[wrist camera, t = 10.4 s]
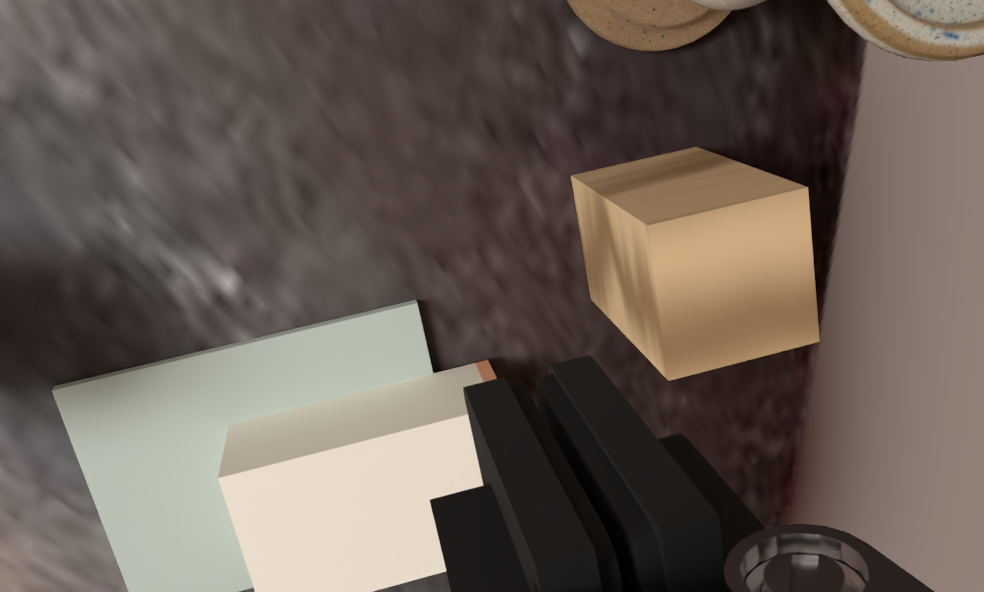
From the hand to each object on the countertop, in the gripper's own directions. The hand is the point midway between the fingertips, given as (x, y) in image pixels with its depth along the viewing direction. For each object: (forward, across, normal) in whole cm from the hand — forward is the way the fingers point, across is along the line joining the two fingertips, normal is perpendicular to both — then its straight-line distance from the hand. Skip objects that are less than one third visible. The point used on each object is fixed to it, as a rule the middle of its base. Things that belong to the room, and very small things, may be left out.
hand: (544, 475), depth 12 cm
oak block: (+29, -11, +6) cm, 32 cm away
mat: (+29, +8, +13) cm, 33 cm away
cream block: (+26, -3, +14) cm, 30 cm away
